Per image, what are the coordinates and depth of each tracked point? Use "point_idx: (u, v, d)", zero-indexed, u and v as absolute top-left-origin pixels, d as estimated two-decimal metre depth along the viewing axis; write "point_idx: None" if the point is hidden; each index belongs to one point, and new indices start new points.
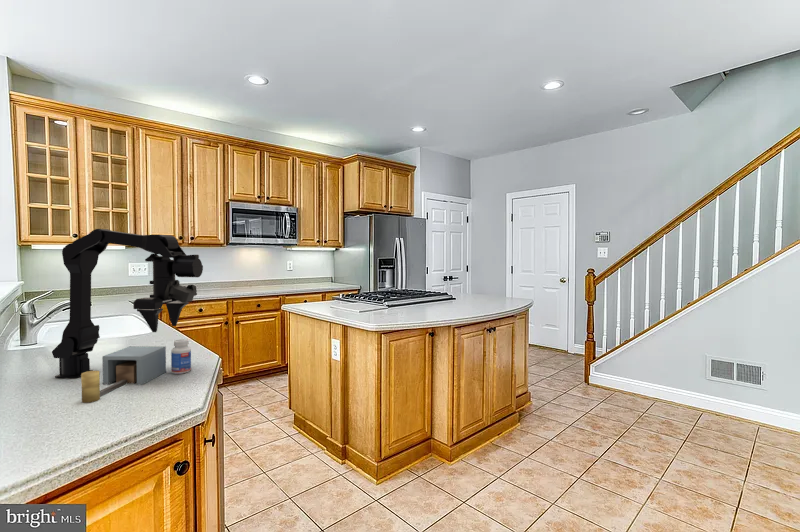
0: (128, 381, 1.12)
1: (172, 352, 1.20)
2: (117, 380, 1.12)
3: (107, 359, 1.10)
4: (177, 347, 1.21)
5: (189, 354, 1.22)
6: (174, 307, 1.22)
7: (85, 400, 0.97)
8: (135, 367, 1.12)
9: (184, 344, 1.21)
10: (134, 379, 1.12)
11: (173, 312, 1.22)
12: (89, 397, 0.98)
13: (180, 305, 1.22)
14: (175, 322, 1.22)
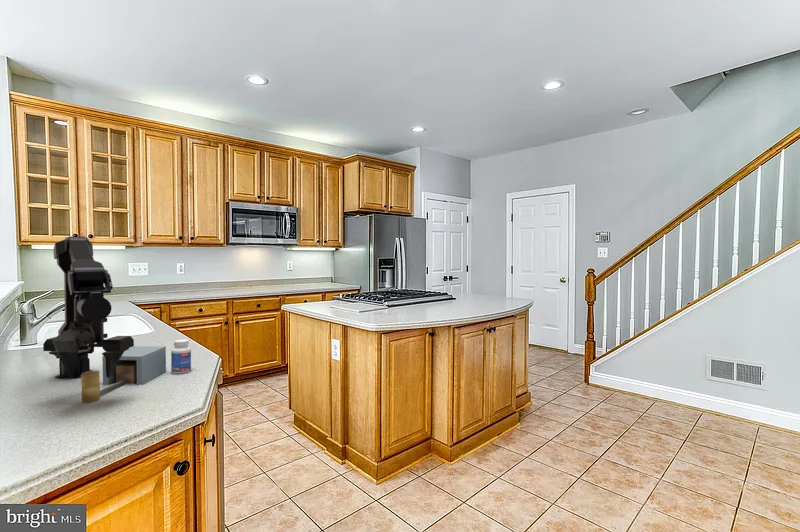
0: (128, 381, 1.12)
1: (172, 352, 1.20)
2: (117, 380, 1.12)
3: None
4: (177, 347, 1.21)
5: (189, 354, 1.22)
6: None
7: (85, 400, 0.97)
8: (135, 367, 1.12)
9: (184, 344, 1.21)
10: (134, 379, 1.12)
11: None
12: (89, 397, 0.98)
13: None
14: None
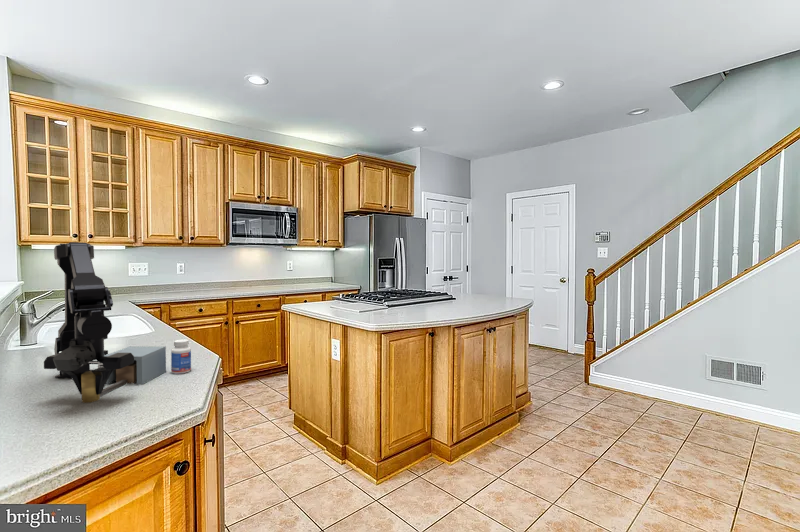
0: (128, 381, 1.12)
1: (172, 352, 1.20)
2: (117, 380, 1.12)
3: None
4: (177, 347, 1.21)
5: (189, 354, 1.22)
6: None
7: (85, 400, 0.97)
8: (135, 367, 1.12)
9: (184, 344, 1.21)
10: (134, 379, 1.12)
11: None
12: (89, 397, 0.98)
13: None
14: None
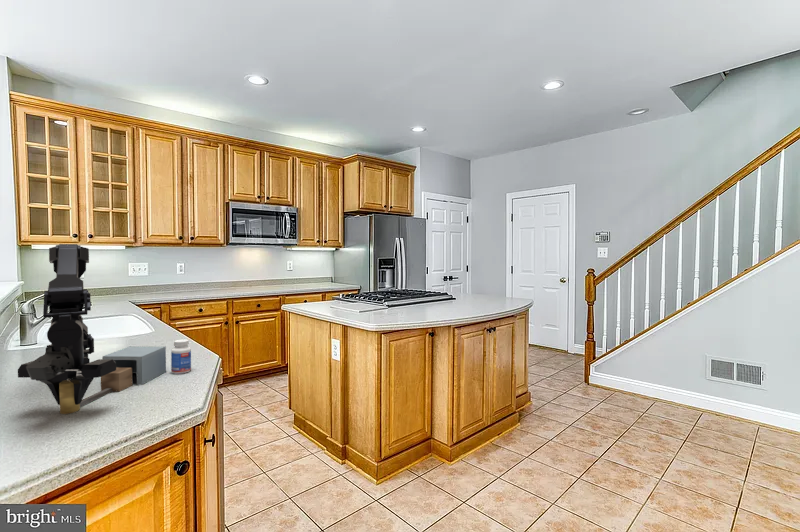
0: (113, 389, 1.05)
1: (172, 352, 1.20)
2: (102, 388, 1.05)
3: None
4: (177, 347, 1.21)
5: (189, 354, 1.22)
6: None
7: (63, 411, 0.91)
8: (121, 374, 1.06)
9: (184, 344, 1.21)
10: (120, 388, 1.05)
11: None
12: (68, 408, 0.91)
13: None
14: None
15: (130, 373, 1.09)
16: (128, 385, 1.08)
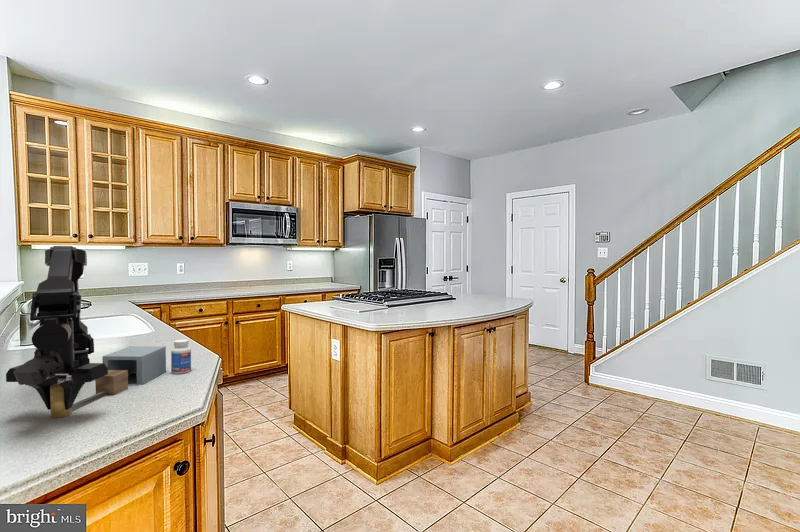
0: (107, 392, 1.03)
1: (172, 352, 1.20)
2: (97, 391, 1.03)
3: (107, 359, 1.10)
4: (177, 347, 1.21)
5: (189, 354, 1.22)
6: None
7: (54, 415, 0.88)
8: (116, 377, 1.03)
9: (184, 344, 1.21)
10: (115, 391, 1.03)
11: None
12: (58, 412, 0.89)
13: None
14: None
15: (126, 376, 1.07)
16: (123, 388, 1.06)
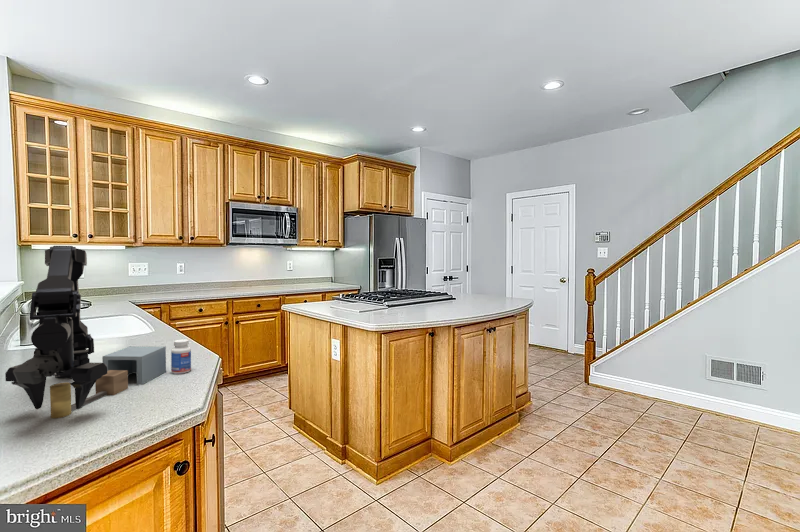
0: (107, 393, 1.03)
1: (172, 352, 1.20)
2: (96, 391, 1.03)
3: (107, 359, 1.10)
4: (177, 347, 1.21)
5: (189, 354, 1.22)
6: None
7: (54, 415, 0.88)
8: (115, 377, 1.03)
9: (184, 344, 1.21)
10: (115, 391, 1.03)
11: None
12: (58, 412, 0.89)
13: None
14: None
15: (126, 376, 1.07)
16: (123, 388, 1.06)
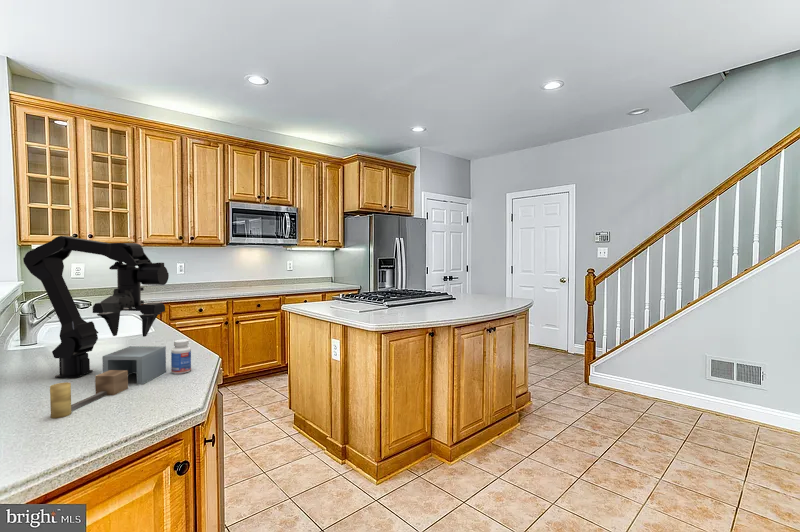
0: (107, 393, 1.03)
1: (172, 352, 1.20)
2: (96, 391, 1.03)
3: (107, 359, 1.10)
4: (177, 347, 1.21)
5: (189, 354, 1.22)
6: None
7: (54, 415, 0.88)
8: (115, 377, 1.03)
9: (184, 344, 1.21)
10: (115, 391, 1.03)
11: None
12: (58, 412, 0.89)
13: None
14: None
15: (126, 376, 1.07)
16: (123, 388, 1.06)
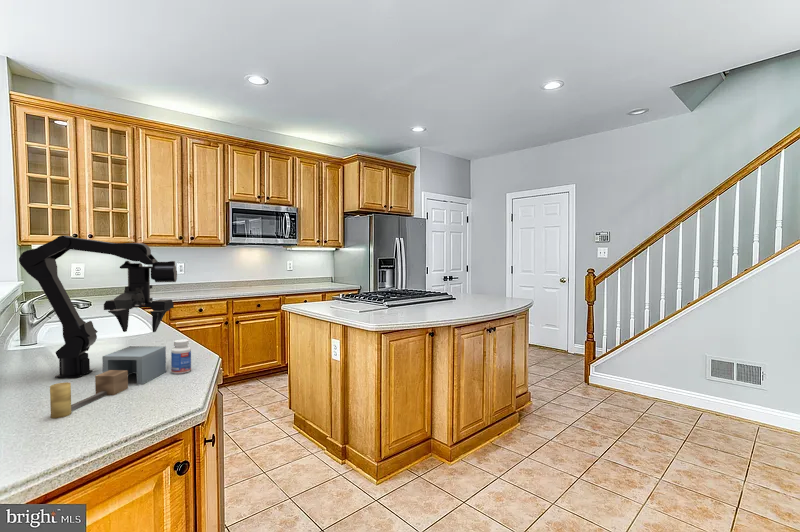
0: (107, 393, 1.03)
1: (172, 352, 1.20)
2: (96, 391, 1.03)
3: (107, 359, 1.10)
4: (177, 347, 1.21)
5: (189, 354, 1.22)
6: None
7: (54, 415, 0.88)
8: (115, 377, 1.03)
9: (184, 344, 1.21)
10: (115, 391, 1.03)
11: None
12: (58, 412, 0.89)
13: None
14: None
15: (126, 376, 1.07)
16: (123, 388, 1.06)
